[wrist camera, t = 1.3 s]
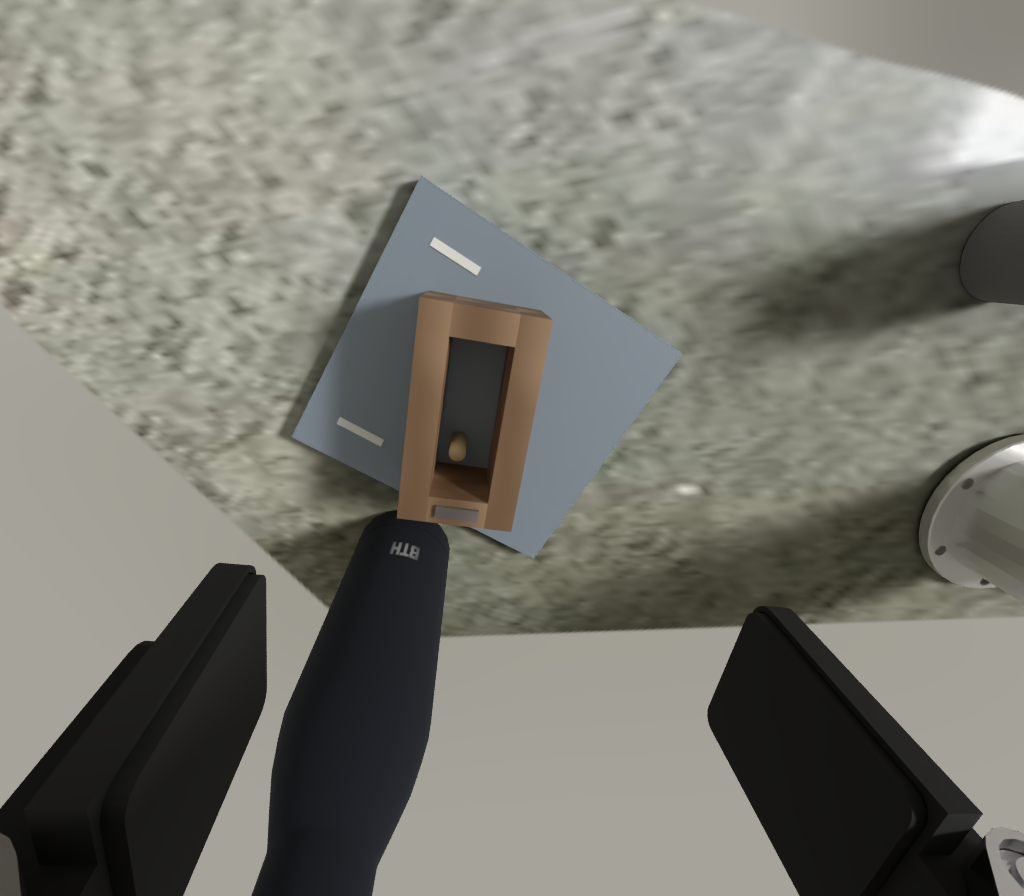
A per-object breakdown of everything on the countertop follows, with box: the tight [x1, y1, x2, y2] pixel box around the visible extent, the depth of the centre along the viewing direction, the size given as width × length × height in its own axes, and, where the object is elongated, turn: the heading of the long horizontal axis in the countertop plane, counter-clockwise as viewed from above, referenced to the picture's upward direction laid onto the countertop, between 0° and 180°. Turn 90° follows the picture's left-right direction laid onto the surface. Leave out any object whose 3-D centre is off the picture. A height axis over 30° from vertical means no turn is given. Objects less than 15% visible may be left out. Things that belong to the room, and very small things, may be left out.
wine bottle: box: [252, 511, 450, 896], centre depth 21 cm, size 6×6×30 cm
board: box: [292, 176, 683, 559], centre depth 30 cm, size 18×17×4 cm
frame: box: [397, 291, 553, 532], centre depth 28 cm, size 6×12×5 cm, turn 170°
